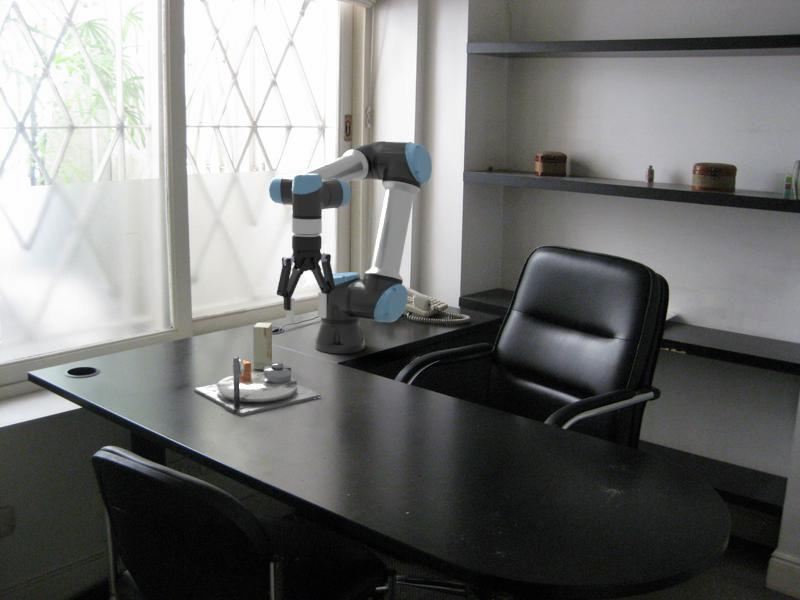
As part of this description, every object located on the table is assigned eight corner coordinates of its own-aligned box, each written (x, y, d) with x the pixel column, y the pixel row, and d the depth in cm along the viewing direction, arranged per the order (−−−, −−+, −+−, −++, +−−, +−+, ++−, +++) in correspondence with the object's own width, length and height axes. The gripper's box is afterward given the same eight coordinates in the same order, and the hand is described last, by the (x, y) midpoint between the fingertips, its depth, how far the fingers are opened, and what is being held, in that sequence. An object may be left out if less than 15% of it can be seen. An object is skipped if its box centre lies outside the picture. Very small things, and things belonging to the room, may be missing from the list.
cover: (281, 374, 225) (281, 358, 224) (296, 380, 220) (296, 365, 219) (258, 378, 221) (258, 363, 220) (273, 385, 216) (273, 369, 215)
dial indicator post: (236, 404, 210) (236, 353, 207) (248, 410, 206) (247, 358, 203) (222, 407, 207) (221, 355, 204) (233, 413, 203) (233, 361, 200)
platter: (269, 372, 231) (269, 353, 230) (312, 391, 216) (312, 371, 215) (202, 386, 218) (202, 366, 217) (243, 407, 203) (243, 385, 202)
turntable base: (271, 375, 233) (271, 371, 233) (320, 397, 216) (320, 393, 216) (194, 391, 218) (194, 387, 218) (241, 416, 201) (240, 411, 201)
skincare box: (268, 370, 238) (268, 327, 235) (253, 369, 238) (252, 327, 235) (272, 363, 244) (272, 322, 242) (257, 363, 244) (257, 321, 242)
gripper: (333, 230, 228) (332, 311, 233) (261, 235, 214) (262, 322, 219) (350, 233, 223) (348, 316, 228) (278, 239, 209) (278, 328, 213)
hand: (306, 319), depth 223 cm, fingers open, 9 cm apart
